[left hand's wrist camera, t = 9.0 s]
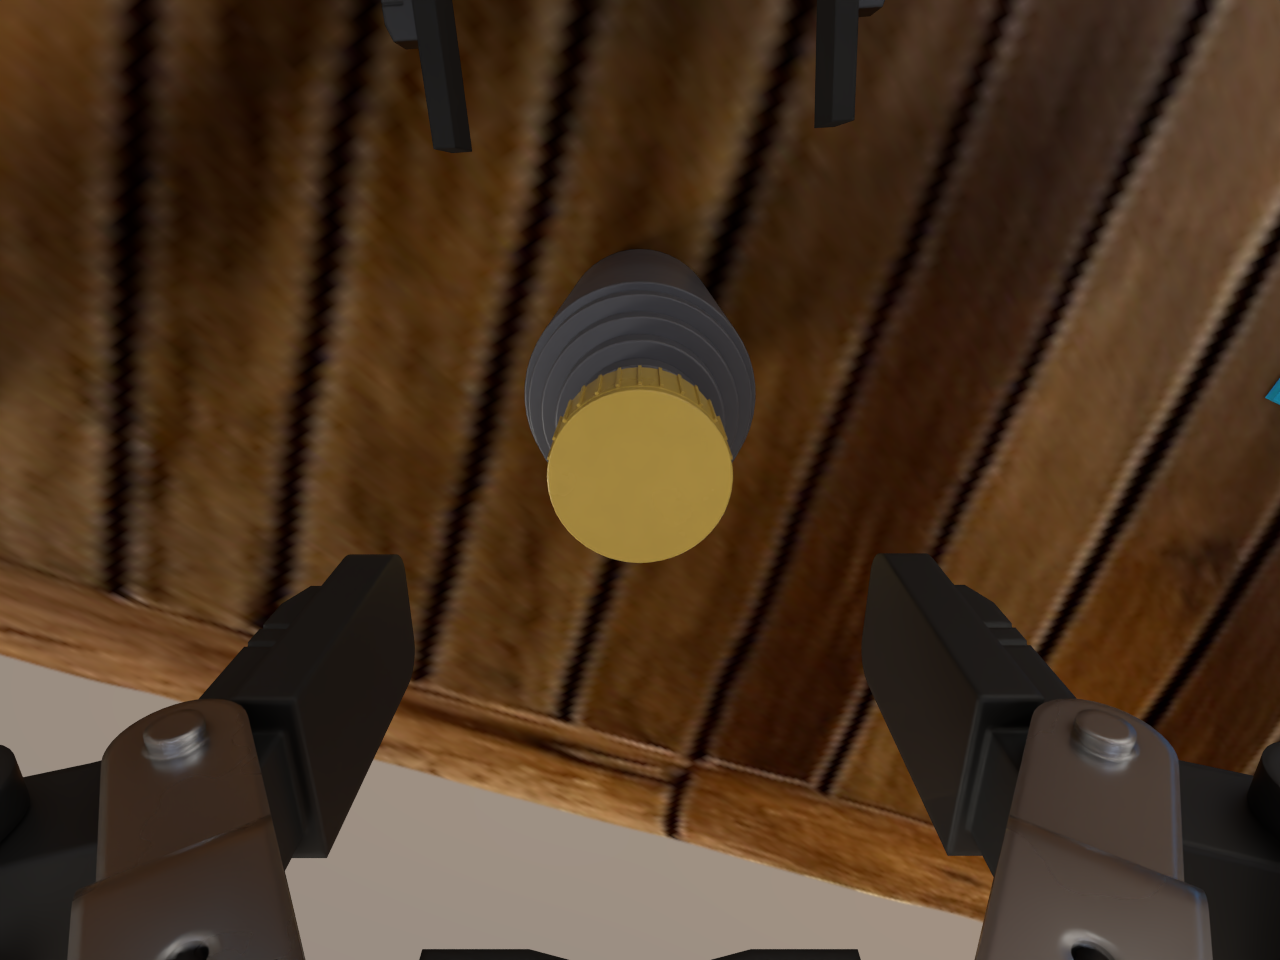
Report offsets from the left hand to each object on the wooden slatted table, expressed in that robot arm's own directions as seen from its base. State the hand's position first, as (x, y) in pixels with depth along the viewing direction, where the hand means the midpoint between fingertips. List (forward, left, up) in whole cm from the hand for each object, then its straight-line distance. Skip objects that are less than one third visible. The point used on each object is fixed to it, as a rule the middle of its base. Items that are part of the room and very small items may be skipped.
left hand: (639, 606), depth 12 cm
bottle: (0, 0, -26) cm, 26 cm away
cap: (0, 0, -6) cm, 6 cm away
